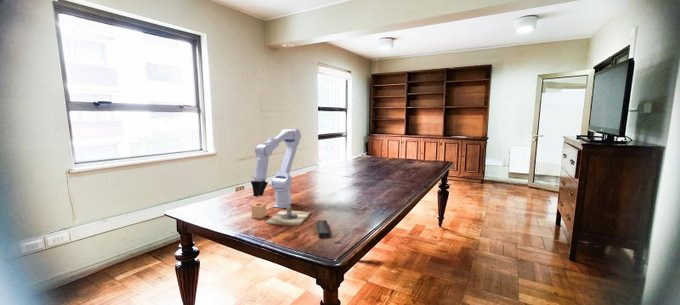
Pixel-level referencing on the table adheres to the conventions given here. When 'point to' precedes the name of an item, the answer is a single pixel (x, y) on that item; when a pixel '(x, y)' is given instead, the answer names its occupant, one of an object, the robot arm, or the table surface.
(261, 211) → the collar
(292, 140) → the robot arm
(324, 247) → the table surface
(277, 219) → the post board
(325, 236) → the multiport hub
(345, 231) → the table surface
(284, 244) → the table surface
